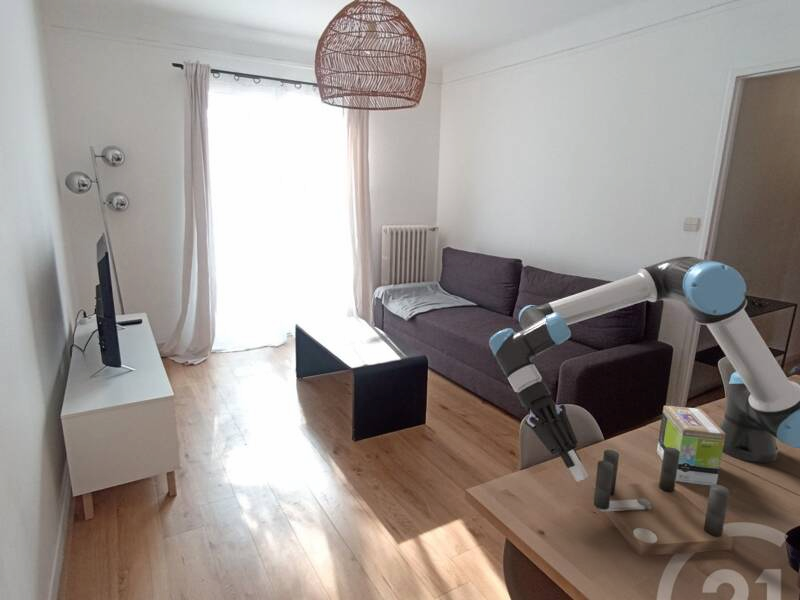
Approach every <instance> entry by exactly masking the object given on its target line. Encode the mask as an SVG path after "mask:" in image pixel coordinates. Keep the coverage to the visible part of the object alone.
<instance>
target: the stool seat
mask: <svg viewBox="0 0 800 600" xmlns="http://www.w3.org/2000/svg"><path fill="white" fill-rule="evenodd" d="M679 454H680V452H679V451H678V450H677V449H675V448H671V447H666V448H664V454H663V460H662V461H661V462H662V463H661V467H660V468H661V470H660V476H659V482H658V481H657V482H643V483H642V482H640V483H622V484H616V483H617V476H618V475H617V474H618V467H619V466H618V465H619V458H620V455H619V453H618V452H617V451H615V450H614V449H613V450H611V449H606V450H604V451H603V459H602V461H608V462H610V463H612V464H613V465H614V468H613V477H612V486H611V494H610V501H617V500H635V499H639V498H644V499H646V500H648V501H649V502H650V505H651V509H649V510H642V509H639V510H622V511H605V512H604V513H605V515H606V516H607V517H608V519H609V520H610V521H611V522H612V524H614V526H615V528H617V530H618V531H619V532H620V534H621V535H622V536H623V538H624V539H625V540H626V541H627V542H628V544H629V545H630V546H631V547H632V549H633V550H634V551H635V552H636V554H637V555H638V556H639V557H643V556H657V555H658V556H659V555H672V554H674V555H675V554H687V553H689V554H690V553H703V552H714V551H715V552H716V551H717V552H718V551H731V550H732V548H733V542H734V539H733V538H732V536H730V535H729V534H728V533H727V532H726V531H725V530H724V526H725V525H724V524H725V520H726V519H725V518H726V514H727V508H728V502H729V496H730V490H729V489H728V488H727V487H725V486H724V485H721V484H713V485H711V486H710V487H709V488H710V489H709V494H708V500H707V506H706V507H707V508H706V513H705V512H704V511H703V510H701V508H699V507H698V506H697V505H696V504H695V503H694V502H693V501H691V500H690V498H688V497H687V495H685V494H683V492H681V491H680V490H679V489H678V488H677V487H676V482H677V481H676V474H677V468H678V461H679ZM594 494H595V485H592V486H591V492H590V496H591V497H592V499H594Z"/></svg>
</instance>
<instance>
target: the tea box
mask: <svg viewBox="0 0 800 600" xmlns="http://www.w3.org/2000/svg"><path fill="white" fill-rule="evenodd" d="M724 441H725V433H724V432H723V431H722V430H721V429H720V427H719V425H718V424H717V423H715V422H714V421H713V419H712V418H711V417H710V416H708V414H707V413H706V412H705V411H704V410H703V409H702V408H694V407H684V406H683V407H682V406H674V405H673V406H672V405H663V409H662V413H661V422H660V429H659V435H658V442H657V449H656V453H657V454H658V456H659V457H660V458H661V460H662V461H663V454H664V448H666V447H671V448H675V449H677V450H678V451H679V452H680V454H679V461H678V468H677V474H676V481H675V482H680V483H685V484H687V483H688V484H693V485H703V486H710V487H711V485H713V484H717V483H718V478H719V473H720V472H719V471H720V467H721V461H722V457H723V446H724ZM717 485H718V484H717Z"/></svg>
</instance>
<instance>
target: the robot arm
mask: <svg viewBox="0 0 800 600" xmlns="http://www.w3.org/2000/svg"><path fill="white" fill-rule="evenodd" d="M746 292H747V284H746V282H745V279H744V277H743V276H742V275H741V273H740V272H739V271H737V269H736V268H733V267H732V266H729V265H727V264H725V263H723V262H720V261H719V262H718V261H714V260H713V261H712V260H707V259H702V258H698V257H695V256H678V257H673V258H671V259H666V260H664V261H661V262H658V263H657V262H656V263H654V264H652V265H648V266H645V267H642V268H640V269H639V270H638V271H637V273H636V274H633V275H630V276H627V277H624V278H620V279H617V280H615V281H612V282H608V283H605V284H602V285H599V286H596V287H594V288H590V289H587V290H584V291H581V292H578V293H575V294H573V295H569V296H566V297H562V298H560V299H557V300H554V301H550V302H547V303H543V304H541V305H534V304H529V305H526V306H524V307H523V308H522V309H521V310H520V311H519V313H518V322H519V325H520V328H522V329H521V330H519V331H517V332H516V331H515V330H514V329H513V328H508V327H507V328H504V329H503V330H500V331H498V332H496V333H495V334H493V335H492V336H491V337H490V339H489V341H488V345H489V347H490V349H491V352H492V353H493V356H494V357H495V359H496V361H497V362H498V363H497V364H498V365H499V366H500V368H501V370H502V371H503V373H504V375H505V377H506V379H508V382H509V384H510V385H511V387H512V389H513V391H514V392H515V393H517V395H516V396H517V398H518V400H519V401H520V403H521V405H522V407H523V408H526V409H527V414H528V418H527V419H526V420H524V423H525V425H526V426H527V427H529V428H530V429H531V430H532V432H533V433H534V434H535V435H536V436H537V438H538V439H539V440H540V441H541V442H542V444H543V446H545V448H546V449H547V450H548V452H550V454H551V455H552V456H556V457H559V456H560V458H561V460H562V462H563V463H564V464H565V467H566V468H567V469H569V471H570V473H571V474H572V476H573V477H574V480H575V481H576V482H577V483H578V482H580V481H582V480H585V479H587V478H588V477H590V476H589V474H588V472H587V470H586V469H585V467H584V464H582V460H581V458H580V457H579V455H578V453H577V451H576V449H575V448H577V447H578V446H577V445H578V439H577V437H576V435H575V432H574V429H573V427H572V425H571V423H570V420H569V417H568V415H567V411H566V406H565V405H564V404H561V405H558V404H556V403H555V401H554V400H553V399H552V398H551V397H550V395H551V390H550V388H548V386H547V384H546V383H545V381H544V380H542V379H543V377H542V375H541V374H540V372H539V371H538V369H537V367H536V366H535V364H534V362H533V360H532V359H533V358H535V357H537V356H539V355H541V354H542V353H545V352H546V351H549V350H551V349H552V348H554V347H556V346H558V345H561V344H562V343H564V342H565V341H566V340H567V341H568V339H570V337H572V332H571V330H570V327H569V325H573V324H576V323H579V322H581V321H582V322H583V321H584V320H588V319H591V318H595V317H598V316H602V315H604V314H607V313H610V312H611V313H612V312H613V311H618V310H620V309H624V308H627V307H630V306H633V305H635V304H639V303H642V302H646V301H648V302H651V303H655V302H658V301H662V300H675V301H678V302H680V303H682V304H684V306H685V307H686V308H687V310H688V312H689V313H690V314H691V316H692V318H693V319H694V320H695V323H697V324H700V325H704V326H705V325H706V327H707V329H708V330H709V331H710V333H711V334H712V337H714V339H715V341H716V342H717V344H718V345H719V347H720V348H721V350H722V352H723V353H724V355H725V356H726V358H727V360H728V361H729V363H731V365H732V367H733V368H734V370H735V371H734V372H733V373H731V376H730V379H729V382H728V389H727V390H728V391H727V396H726V403H725V409H724V414H723V415H724V416H723V418H722V421H721V422H720V424H719V425H718V427H720V429H721V430H722V431H723V432H724V433H725V441H724V446H723V451H722V453H725V454H727V455H729V456H731V457H734V458H737V459H740V460H744V461H747V462H752V463H753V462H754V463H773V462H774V461H776V460H777V457H778V454H779V448H778V446H777V441H779V442H780V443H783V444H785V445H787V446H788V447H790V448H794V449H800V384H799V383H797V382H795V381H792V380H789V379H788V376H787V375H786V374H785V372H784V371H783V369H782V367H781V366H780V364H779V363H778V361H777V360H776V358H775V356H774V355H773V353H772V352H771V350H770V349H769V347H768V345H767V344H766V342H765V340H764V339H763V337H762V335H761V334H760V333H759V330H757V328H756V327H755V326H756V325H754V323H753V322H752V320H751V318H750V317H749V315H748V313H747V312H746V310H745V308H746V307H747V304H748V300H747V298H746V295H745V293H746Z"/></svg>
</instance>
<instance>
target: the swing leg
mask: <svg viewBox="0 0 800 600" xmlns="http://www.w3.org/2000/svg"><path fill="white" fill-rule="evenodd" d="M596 466H597V467H596V476H595V485H594V486H595V494H594V498H593V506H595V508H597V509H598V510H600V512H601V513H602V512H604V513H605V511H622V510H639V509H642V510H649V509H651V505H650V502H649V501H648V500H646V499H644V498H639V499H635V500H617V501H610V494H611V486H612V477H613V468H614V465H613V464H612V463H610V462H608V461H603V460H599V461H598V462H597V465H596Z"/></svg>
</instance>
